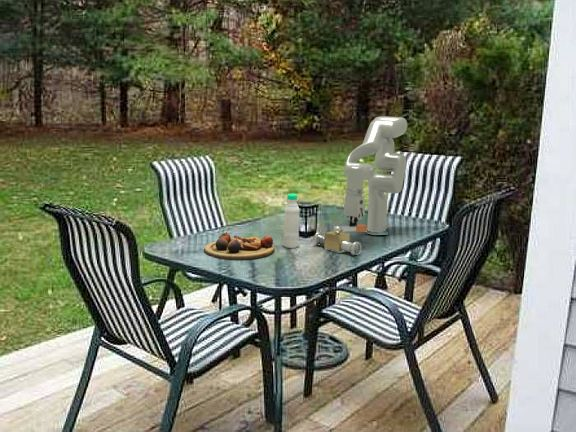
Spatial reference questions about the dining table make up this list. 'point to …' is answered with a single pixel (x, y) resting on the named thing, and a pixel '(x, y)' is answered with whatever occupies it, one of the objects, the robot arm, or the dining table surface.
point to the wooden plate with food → (240, 247)
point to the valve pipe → (337, 242)
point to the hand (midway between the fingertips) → (352, 230)
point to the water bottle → (291, 222)
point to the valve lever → (351, 228)
